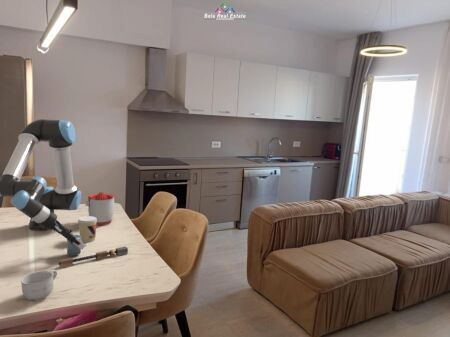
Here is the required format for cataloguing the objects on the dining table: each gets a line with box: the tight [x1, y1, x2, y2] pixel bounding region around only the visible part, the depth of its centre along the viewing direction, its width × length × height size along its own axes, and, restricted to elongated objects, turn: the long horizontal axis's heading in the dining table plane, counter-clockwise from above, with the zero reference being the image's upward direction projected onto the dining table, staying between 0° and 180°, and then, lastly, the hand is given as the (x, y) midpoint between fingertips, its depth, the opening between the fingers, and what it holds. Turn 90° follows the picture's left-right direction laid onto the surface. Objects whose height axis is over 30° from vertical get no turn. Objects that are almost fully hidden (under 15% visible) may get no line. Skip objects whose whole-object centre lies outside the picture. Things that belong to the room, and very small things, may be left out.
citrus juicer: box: [84, 191, 115, 226], centre depth 215 cm, size 16×17×20 cm
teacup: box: [20, 269, 58, 301], centre depth 132 cm, size 14×11×8 cm
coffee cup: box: [77, 215, 97, 243], centre depth 188 cm, size 9×9×12 cm
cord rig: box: [58, 245, 129, 269], centre depth 165 cm, size 3×32×3 cm, turn 129°
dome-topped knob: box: [66, 234, 82, 256], centre depth 168 cm, size 6×6×8 cm
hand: (81, 244), depth 170 cm, fingers closed on dome-topped knob, 6 cm apart
